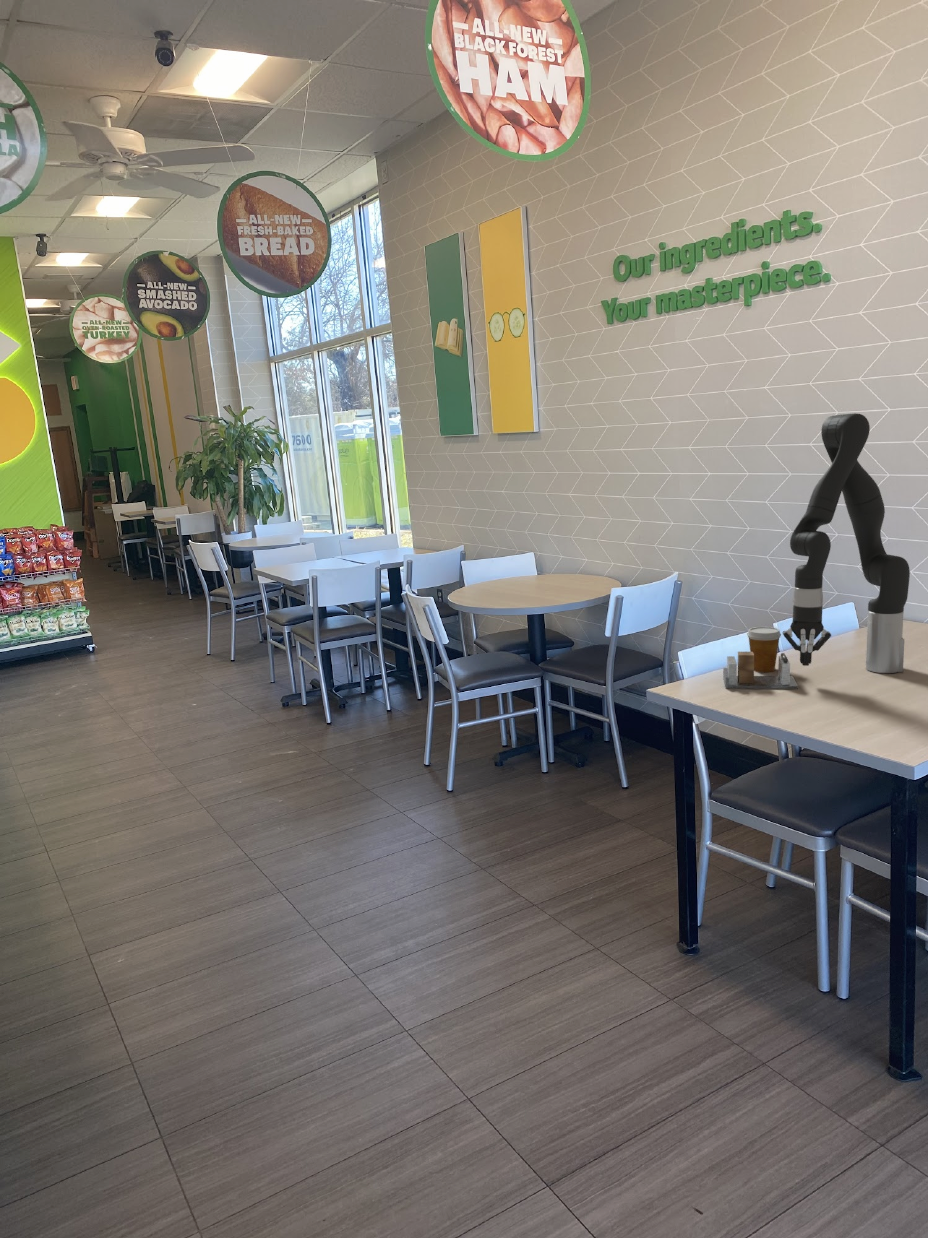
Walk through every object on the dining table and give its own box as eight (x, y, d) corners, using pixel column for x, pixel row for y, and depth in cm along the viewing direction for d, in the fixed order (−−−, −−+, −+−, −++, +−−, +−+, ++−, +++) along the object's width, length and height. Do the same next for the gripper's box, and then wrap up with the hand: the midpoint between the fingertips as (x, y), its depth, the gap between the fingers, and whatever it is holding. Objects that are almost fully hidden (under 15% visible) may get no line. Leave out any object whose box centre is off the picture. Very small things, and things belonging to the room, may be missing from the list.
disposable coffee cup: (776, 664, 271) (776, 625, 268) (784, 673, 262) (784, 633, 259) (743, 665, 272) (743, 626, 269) (750, 674, 263) (750, 634, 260)
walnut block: (752, 678, 255) (752, 651, 253) (753, 683, 251) (754, 655, 250) (737, 678, 256) (737, 651, 254) (738, 682, 252) (739, 655, 250)
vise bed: (792, 678, 256) (793, 655, 254) (797, 689, 246) (798, 665, 245) (723, 678, 260) (723, 655, 258) (725, 688, 250) (725, 665, 249)
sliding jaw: (785, 676, 255) (786, 651, 254) (789, 685, 247) (790, 659, 246) (778, 676, 256) (778, 651, 254) (782, 684, 248) (782, 659, 246)
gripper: (783, 606, 244) (781, 668, 247) (836, 606, 241) (833, 669, 244) (780, 600, 251) (778, 661, 254) (831, 600, 248) (828, 662, 251)
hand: (805, 664), depth 249 cm, fingers closed
